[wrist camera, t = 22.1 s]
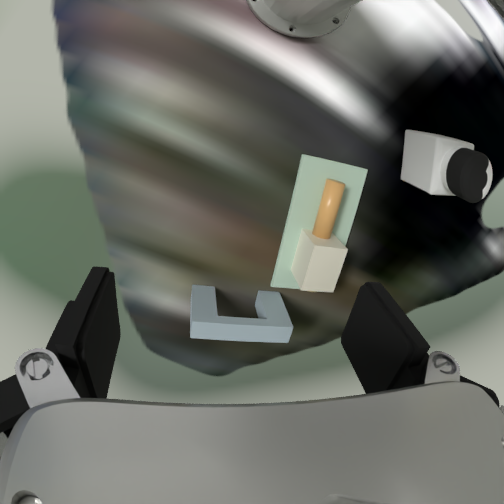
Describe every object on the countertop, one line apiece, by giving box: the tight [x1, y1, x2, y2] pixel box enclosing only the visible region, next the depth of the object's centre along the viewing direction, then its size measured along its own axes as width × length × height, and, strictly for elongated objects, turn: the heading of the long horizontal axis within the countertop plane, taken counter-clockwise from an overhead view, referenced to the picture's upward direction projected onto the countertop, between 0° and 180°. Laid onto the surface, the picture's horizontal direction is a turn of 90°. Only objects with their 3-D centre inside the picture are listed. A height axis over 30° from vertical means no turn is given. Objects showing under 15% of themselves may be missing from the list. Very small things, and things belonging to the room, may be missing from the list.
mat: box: [271, 154, 368, 289], centre depth 41 cm, size 18×9×1 cm, turn 169°
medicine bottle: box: [401, 130, 493, 203], centre depth 33 cm, size 7×7×12 cm
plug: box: [291, 178, 348, 292], centre depth 38 cm, size 14×4×5 cm, turn 169°
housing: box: [190, 285, 293, 343], centre depth 40 cm, size 2×12×8 cm, turn 79°
